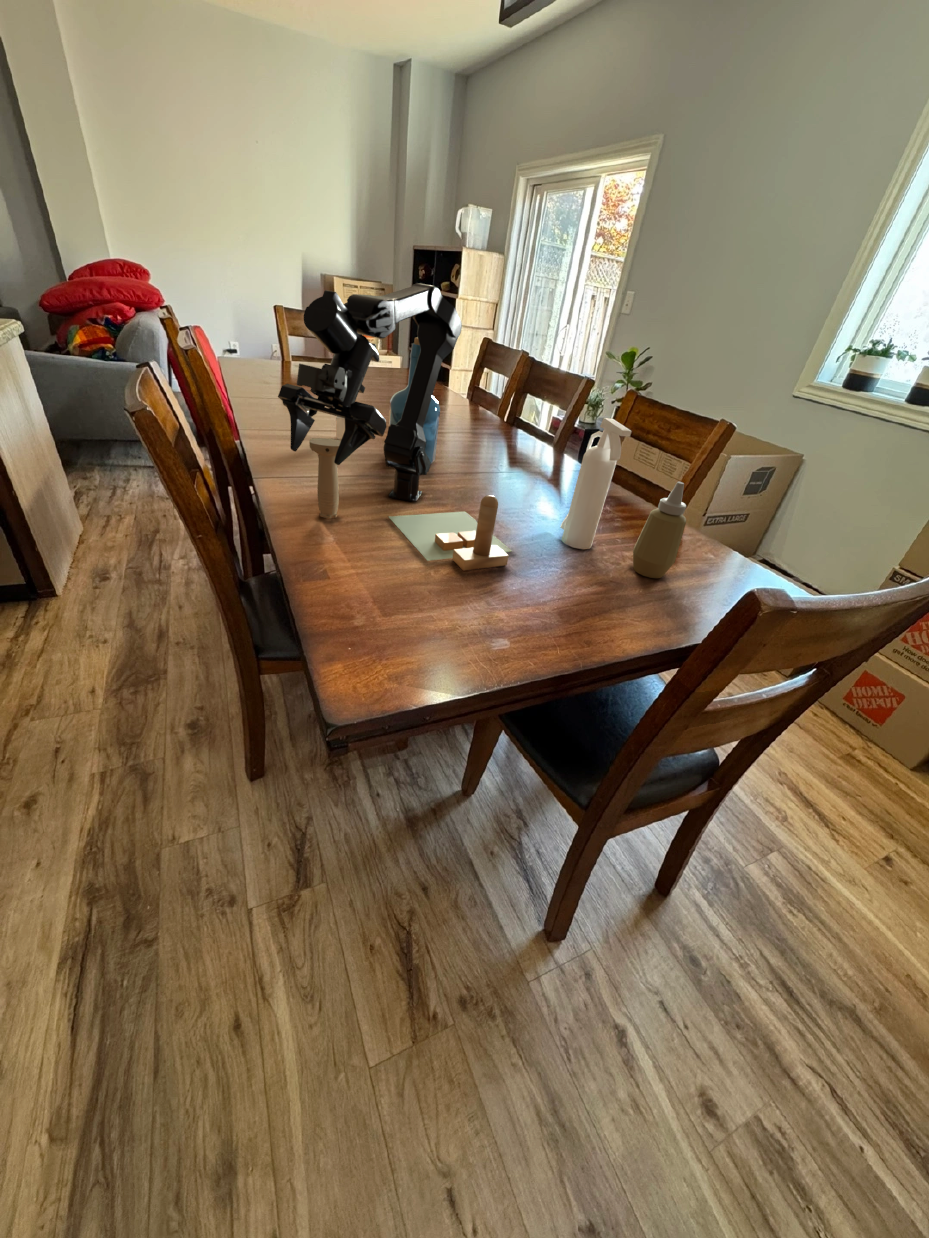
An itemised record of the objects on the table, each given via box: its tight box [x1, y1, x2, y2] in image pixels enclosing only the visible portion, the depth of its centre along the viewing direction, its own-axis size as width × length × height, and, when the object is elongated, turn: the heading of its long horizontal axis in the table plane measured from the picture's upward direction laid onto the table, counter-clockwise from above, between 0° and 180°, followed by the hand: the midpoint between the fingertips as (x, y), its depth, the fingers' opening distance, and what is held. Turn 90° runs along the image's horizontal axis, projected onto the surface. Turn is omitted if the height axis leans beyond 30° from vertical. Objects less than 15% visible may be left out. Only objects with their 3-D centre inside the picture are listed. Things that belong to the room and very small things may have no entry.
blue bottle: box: [387, 336, 441, 465], centre depth 133 cm, size 14×13×30 cm
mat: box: [387, 510, 513, 562], centre depth 102 cm, size 20×18×1 cm
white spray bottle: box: [559, 417, 633, 550], centre depth 102 cm, size 7×12×25 cm, turn 16°
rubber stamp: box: [451, 494, 510, 572], centre depth 89 cm, size 9×4×14 cm, turn 117°
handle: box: [309, 437, 341, 520], centre depth 97 cm, size 5×6×15 cm
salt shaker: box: [335, 416, 345, 440], centre depth 147 cm, size 4×4×10 cm
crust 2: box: [458, 531, 476, 548], centre depth 98 cm, size 4×4×2 cm
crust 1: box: [435, 533, 463, 551], centre depth 96 cm, size 4×4×2 cm
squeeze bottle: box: [632, 481, 687, 579], centre depth 96 cm, size 8×8×18 cm
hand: (314, 457), depth 86 cm, fingers open, 9 cm apart
